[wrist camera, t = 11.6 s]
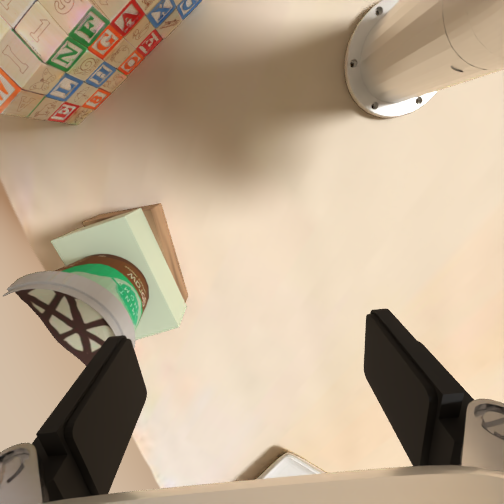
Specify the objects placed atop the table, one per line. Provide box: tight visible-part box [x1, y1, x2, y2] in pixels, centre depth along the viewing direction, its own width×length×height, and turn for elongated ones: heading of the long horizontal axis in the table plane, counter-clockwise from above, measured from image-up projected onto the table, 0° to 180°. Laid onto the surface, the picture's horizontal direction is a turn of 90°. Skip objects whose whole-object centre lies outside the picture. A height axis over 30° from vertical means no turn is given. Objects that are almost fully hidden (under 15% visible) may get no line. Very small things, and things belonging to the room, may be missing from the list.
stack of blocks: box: [0, 0, 202, 125], centre depth 27 cm, size 21×6×12 cm, turn 128°
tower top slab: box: [51, 208, 187, 340], centre depth 35 cm, size 9×15×5 cm, turn 18°
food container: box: [3, 254, 149, 366], centre depth 28 cm, size 12×6×10 cm, turn 28°
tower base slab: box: [82, 203, 188, 302], centre depth 40 cm, size 9×15×5 cm, turn 10°
